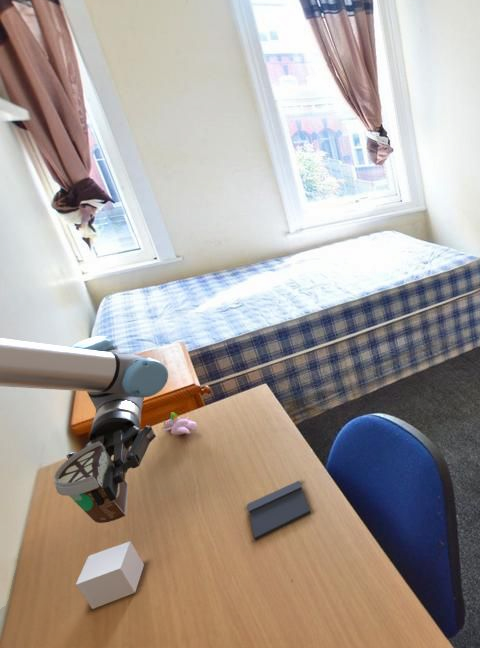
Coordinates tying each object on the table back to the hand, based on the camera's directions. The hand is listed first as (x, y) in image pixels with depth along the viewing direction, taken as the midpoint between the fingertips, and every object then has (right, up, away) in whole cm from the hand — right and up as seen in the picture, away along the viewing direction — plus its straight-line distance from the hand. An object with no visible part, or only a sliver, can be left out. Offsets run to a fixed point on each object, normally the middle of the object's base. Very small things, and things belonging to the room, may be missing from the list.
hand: (103, 496), depth 76 cm
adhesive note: (-2, -18, +5) cm, 19 cm away
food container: (-5, -5, +6) cm, 9 cm away
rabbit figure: (-19, -2, +46) cm, 50 cm away
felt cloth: (+20, -10, +18) cm, 28 cm away
